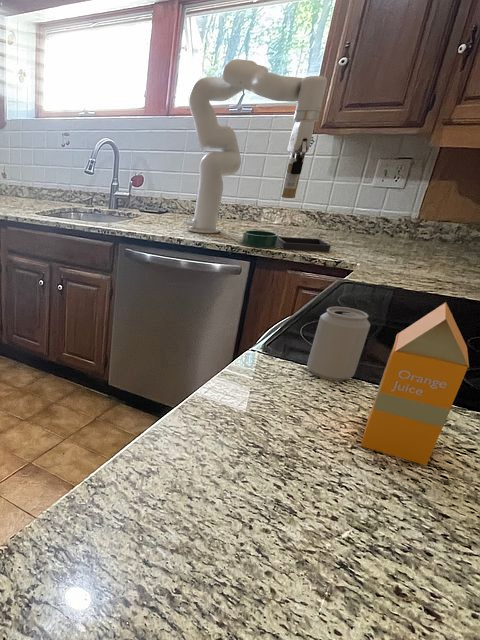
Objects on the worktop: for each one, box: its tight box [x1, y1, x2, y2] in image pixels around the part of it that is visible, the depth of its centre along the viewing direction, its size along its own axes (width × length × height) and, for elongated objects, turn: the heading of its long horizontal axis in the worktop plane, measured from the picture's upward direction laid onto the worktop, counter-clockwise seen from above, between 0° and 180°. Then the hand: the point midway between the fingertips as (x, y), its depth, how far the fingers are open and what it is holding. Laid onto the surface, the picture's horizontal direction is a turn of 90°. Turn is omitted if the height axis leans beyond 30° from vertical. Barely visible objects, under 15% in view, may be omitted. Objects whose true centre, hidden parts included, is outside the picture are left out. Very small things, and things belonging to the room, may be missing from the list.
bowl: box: [241, 229, 279, 249], centre depth 198 cm, size 12×12×4 cm
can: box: [306, 306, 371, 382], centre depth 93 cm, size 8×8×12 cm
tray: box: [276, 236, 332, 253], centre depth 195 cm, size 15×12×2 cm
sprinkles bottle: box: [281, 157, 301, 199], centre depth 187 cm, size 5×5×13 cm
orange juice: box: [360, 301, 470, 466], centre depth 71 cm, size 8×9×20 cm
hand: (293, 172), depth 187 cm, fingers closed on sprinkles bottle, 4 cm apart
